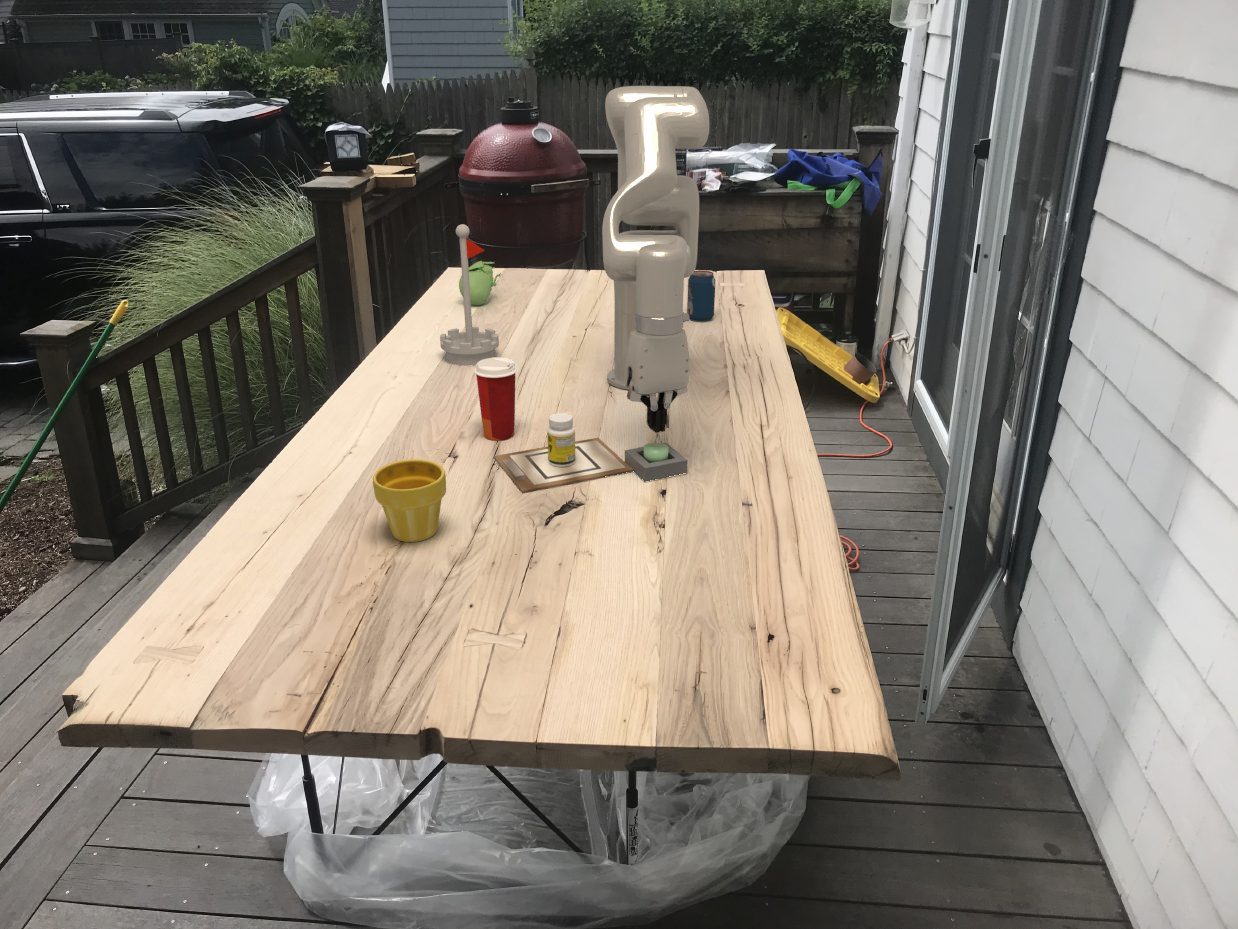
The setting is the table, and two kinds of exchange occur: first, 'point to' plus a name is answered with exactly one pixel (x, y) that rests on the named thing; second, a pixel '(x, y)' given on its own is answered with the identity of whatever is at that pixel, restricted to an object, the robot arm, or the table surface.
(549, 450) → the supplement bottle
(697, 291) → the soda can
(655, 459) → the button
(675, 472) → the button housing
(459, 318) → the table surface
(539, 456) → the brown bordered board
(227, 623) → the table surface
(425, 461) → the plant pot
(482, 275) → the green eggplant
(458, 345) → the flag stand
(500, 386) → the paper cup
